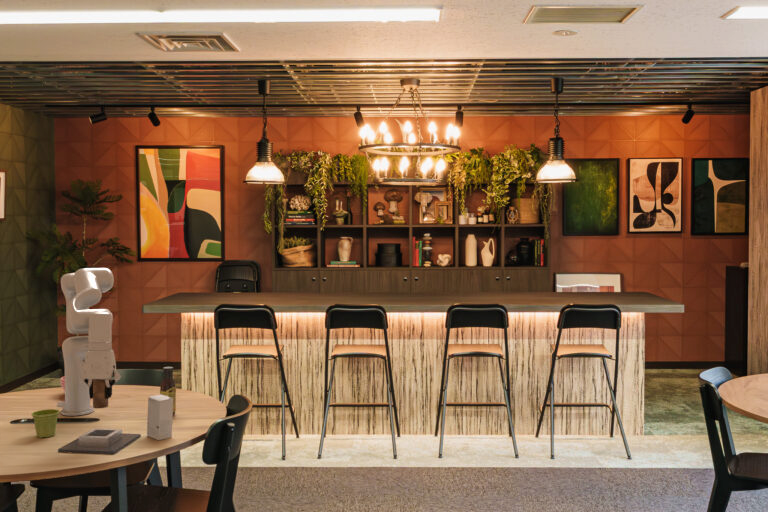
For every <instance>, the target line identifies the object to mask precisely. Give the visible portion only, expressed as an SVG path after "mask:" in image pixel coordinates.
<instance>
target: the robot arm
mask: <svg viewBox="0 0 768 512" xmlns="http://www.w3.org/2000/svg"><path fill="white" fill-rule="evenodd" d="M114 281H115V280H114V274H113V272H112V270H111V269H110V268H108V267H84V268H79V269H77V270H76V271H75V272H71V273H65V274H63V275H62V276H61V278H60V285H61V287H60V288H61V291H62V293H63V295H64V298H65V302H66V305H65V306H66V310H65V311H66V312H65V313H66V314H65V318H66V330H67V332H68V333H69V334H72V335H80V336H70V337H68V338H66V339H64V340H63V342H62V344H61V347H62V349H61V350H62V357H63V362H64V363H63V364H64V376H65V391H64V401H57V404H56V408H62V410H60V414H61V415H63V416H67V417H75V416H76V417H77V416H83V415H88V414H91V413H93V412H94V411H95V408H93V405H92V406H91V399H93V379H95V380H105V382H106V386H107V387H106V388H105V398H106V399H108V400H109V399H110V398H112V396H113V386H114V384H116V383H117V382H118V381H119V380H121V378H122V375H120V373H119V372H118V371H117V363H116V362H117V361H116V355H115V352H114V349H112V347H113V344H112V341H113V340H112V339H113V338H112V334H113V332H112V329H113V328H112V327H113V321H114V317H113V315H114V314H113V313H112V312H111V310H109V309H108V308H93V309H92V308H91V309H90V307H93V306H95V305H96V304H98V303H100V301H101V299H102V297H103V293H107V292H108V291H110V290H111V289H112V288H113V286H114V284H115V283H114ZM84 334H88V335H84Z"/></svg>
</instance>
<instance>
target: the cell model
mask: <svg viewBox="0 0 768 512" xmlns="http://www.w3.org/2000/svg"><path fill="white" fill-rule="evenodd" d="M60 386H61V387H62V389H63V391H64V392H65V375H64V376H62V377H60Z"/></svg>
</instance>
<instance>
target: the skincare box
mask: <svg viewBox="0 0 768 512" xmlns="http://www.w3.org/2000/svg"><path fill="white" fill-rule="evenodd" d="M147 398H148V399H147V400H148V401H147V419H146V421H147V423H146V424H147V425H146V426H147V427H146V436H147V437H149V438H152V439H154V440H157V441H162V440H166V439H170V438H172V437H173V417H174V416H173V398H170V397H168V396H164V395H160V394H157V395H156V394H155V395H150V396H148V397H147Z"/></svg>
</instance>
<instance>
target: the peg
mask: <svg viewBox="0 0 768 512" xmlns="http://www.w3.org/2000/svg"><path fill="white" fill-rule="evenodd" d="M106 387H107V386H106V382H105V380H95V379H93V398H92V407H93V408H94V409H105V408H108V407H109V398H108V399H106V398H105V388H106Z"/></svg>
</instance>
